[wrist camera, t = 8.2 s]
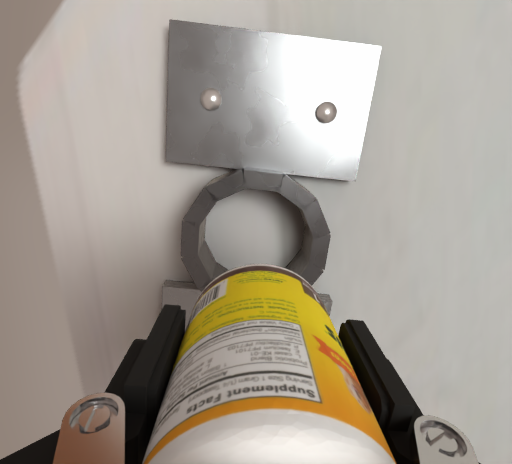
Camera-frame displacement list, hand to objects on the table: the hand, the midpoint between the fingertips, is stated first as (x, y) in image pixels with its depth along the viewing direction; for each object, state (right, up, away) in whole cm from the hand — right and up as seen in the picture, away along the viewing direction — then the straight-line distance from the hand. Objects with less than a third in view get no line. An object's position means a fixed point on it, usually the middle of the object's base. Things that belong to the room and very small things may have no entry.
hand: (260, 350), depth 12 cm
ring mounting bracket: (0, +4, +15) cm, 15 cm away
